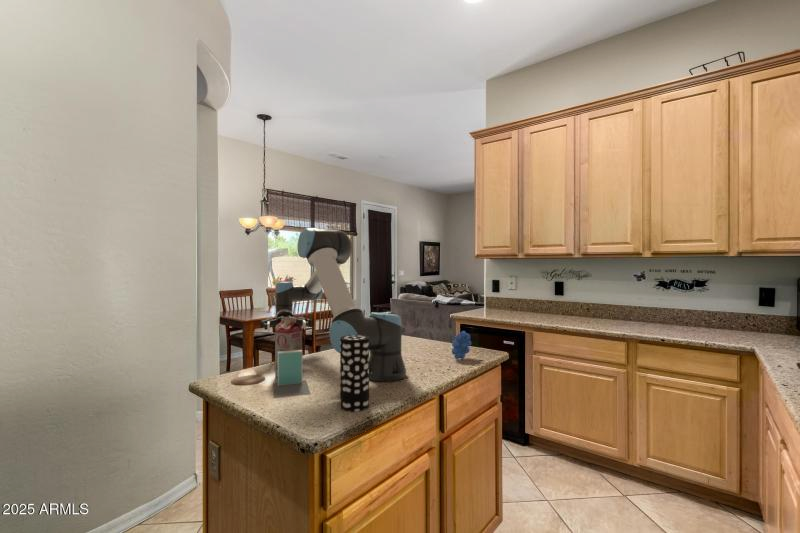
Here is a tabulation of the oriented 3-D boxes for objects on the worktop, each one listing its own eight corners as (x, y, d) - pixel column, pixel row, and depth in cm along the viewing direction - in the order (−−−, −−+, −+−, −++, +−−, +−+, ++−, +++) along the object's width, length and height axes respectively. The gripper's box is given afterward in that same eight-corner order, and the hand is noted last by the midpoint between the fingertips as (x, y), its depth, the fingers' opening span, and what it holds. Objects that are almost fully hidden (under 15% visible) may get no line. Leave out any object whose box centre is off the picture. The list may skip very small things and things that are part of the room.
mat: (273, 385, 131) (273, 383, 131) (306, 381, 134) (306, 380, 134) (273, 399, 117) (273, 397, 117) (310, 395, 120) (310, 394, 120)
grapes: (463, 354, 174) (463, 328, 174) (474, 357, 169) (474, 330, 169) (445, 358, 167) (445, 331, 167) (456, 362, 162) (456, 333, 162)
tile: (277, 383, 130) (277, 351, 130) (301, 381, 133) (301, 349, 133) (277, 385, 128) (277, 352, 128) (302, 383, 131) (302, 351, 131)
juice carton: (289, 381, 135) (289, 319, 135) (275, 379, 138) (275, 317, 137) (302, 376, 141) (302, 316, 141) (288, 374, 144) (287, 315, 143)
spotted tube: (371, 409, 109) (371, 339, 109) (342, 413, 106) (342, 341, 106) (365, 399, 117) (365, 334, 117) (338, 402, 114) (338, 335, 114)
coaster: (270, 378, 139) (270, 375, 139) (254, 387, 128) (254, 385, 128) (242, 376, 140) (242, 374, 140) (224, 386, 130) (224, 383, 130)
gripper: (313, 325, 173) (319, 334, 153) (254, 328, 165) (252, 338, 145) (313, 309, 173) (319, 315, 153) (254, 311, 165) (252, 318, 144)
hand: (287, 326), depth 149 cm, fingers open, 13 cm apart
